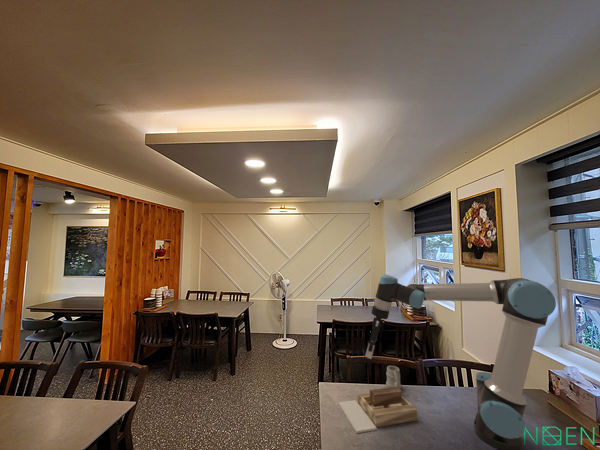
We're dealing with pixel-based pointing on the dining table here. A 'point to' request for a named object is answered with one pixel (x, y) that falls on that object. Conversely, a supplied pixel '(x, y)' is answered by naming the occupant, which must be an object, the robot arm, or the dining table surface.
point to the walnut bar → (385, 396)
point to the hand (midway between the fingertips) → (369, 351)
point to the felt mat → (357, 416)
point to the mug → (393, 377)
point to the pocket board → (387, 411)
